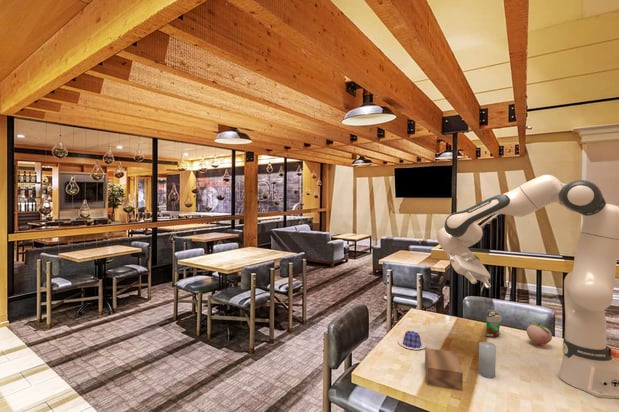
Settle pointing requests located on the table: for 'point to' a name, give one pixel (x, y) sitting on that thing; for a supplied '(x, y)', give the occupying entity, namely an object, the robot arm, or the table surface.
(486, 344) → the metal cylinder
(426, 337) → the table surface
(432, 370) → the walnut block
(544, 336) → the decorative fruit
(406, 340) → the pudding
